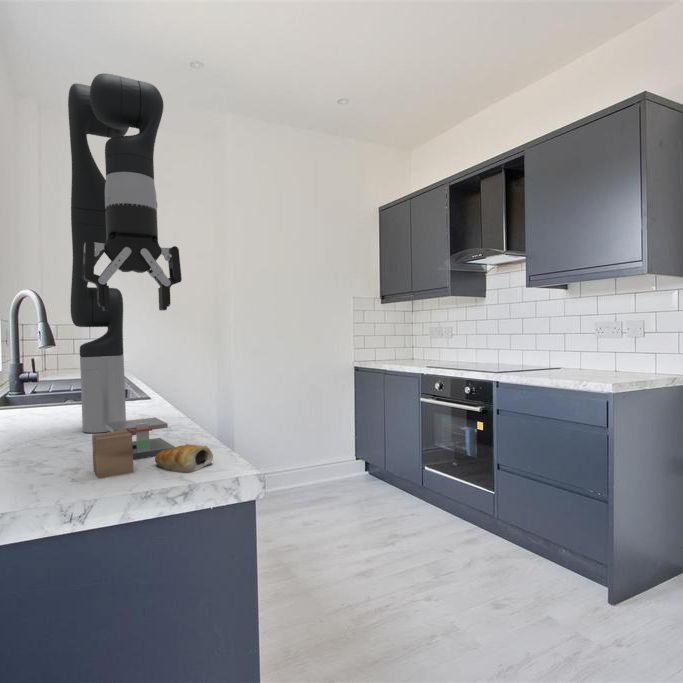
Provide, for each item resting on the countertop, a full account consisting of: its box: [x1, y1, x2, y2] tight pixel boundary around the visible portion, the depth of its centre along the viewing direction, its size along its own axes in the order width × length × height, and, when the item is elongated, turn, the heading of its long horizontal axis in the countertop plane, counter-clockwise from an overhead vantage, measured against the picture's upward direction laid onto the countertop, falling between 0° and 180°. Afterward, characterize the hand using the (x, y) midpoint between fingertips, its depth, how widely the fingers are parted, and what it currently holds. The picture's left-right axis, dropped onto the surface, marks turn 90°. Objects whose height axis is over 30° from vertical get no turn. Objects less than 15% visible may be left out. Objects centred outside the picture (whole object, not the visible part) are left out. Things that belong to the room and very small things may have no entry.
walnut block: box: [91, 430, 134, 480], centre depth 77 cm, size 5×5×6 cm
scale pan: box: [105, 417, 169, 436], centre depth 90 cm, size 11×9×2 cm
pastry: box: [154, 443, 214, 473], centre depth 80 cm, size 9×7×4 cm
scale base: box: [132, 423, 175, 460], centre depth 91 cm, size 11×11×6 cm
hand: (135, 310), depth 78 cm, fingers open, 8 cm apart
